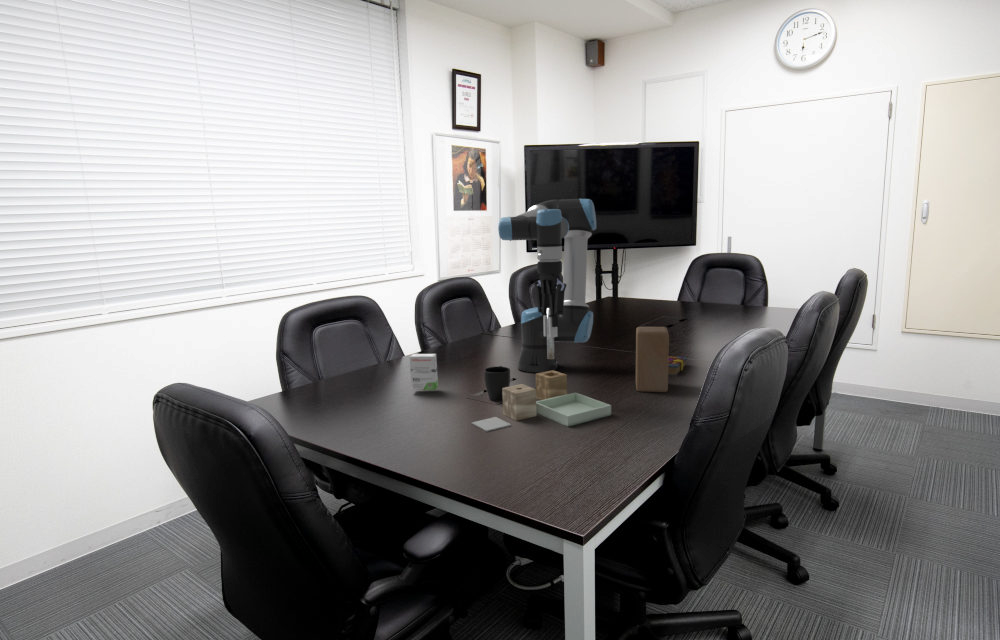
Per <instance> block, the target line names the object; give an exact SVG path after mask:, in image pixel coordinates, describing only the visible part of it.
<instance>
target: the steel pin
mask: <svg viewBox="0 0 1000 640" xmlns="http://www.w3.org/2000/svg"><path fill="white" fill-rule="evenodd" d="M549 315H551V314H550V307H548V308H547V359H554V354H555V342H554V337H553V338H549Z"/></svg>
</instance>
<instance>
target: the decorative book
mask: <svg viewBox="0 0 1000 640" xmlns="http://www.w3.org/2000/svg"><path fill="white" fill-rule="evenodd" d="M687 360H688V358H687V356H681V355H680V356H677V355H674V356H671V355H669V362H668V376H672V377H673V376H675V377H677V376H678V375H677V373H678V374H679V373H680V372H682V371H683V369H684V367H685V366H686V361H687Z"/></svg>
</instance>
